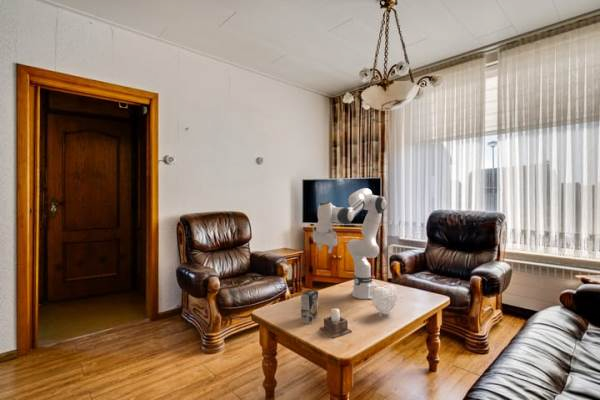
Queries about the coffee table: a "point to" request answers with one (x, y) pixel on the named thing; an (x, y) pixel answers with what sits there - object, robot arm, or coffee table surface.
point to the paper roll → (335, 315)
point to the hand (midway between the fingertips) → (324, 251)
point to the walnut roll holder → (335, 327)
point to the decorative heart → (384, 298)
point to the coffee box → (309, 306)
